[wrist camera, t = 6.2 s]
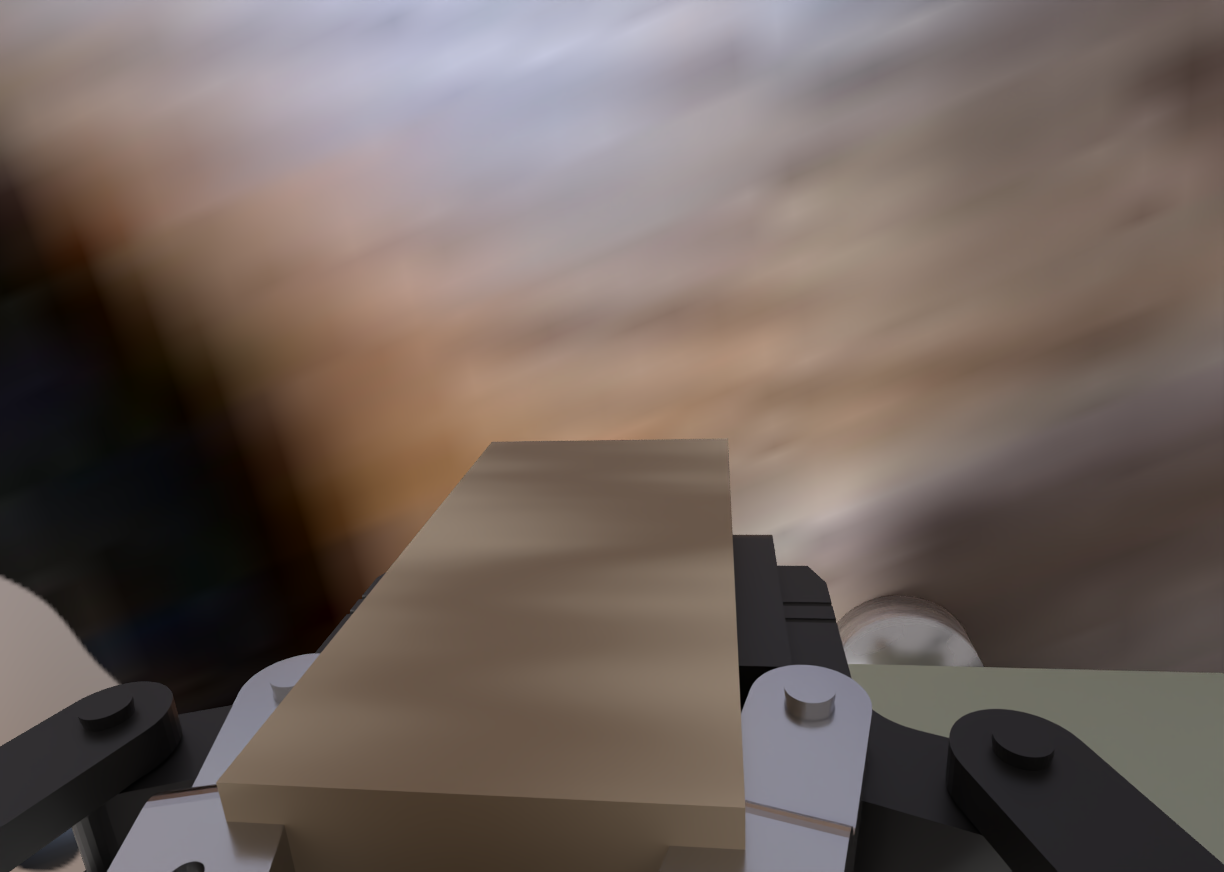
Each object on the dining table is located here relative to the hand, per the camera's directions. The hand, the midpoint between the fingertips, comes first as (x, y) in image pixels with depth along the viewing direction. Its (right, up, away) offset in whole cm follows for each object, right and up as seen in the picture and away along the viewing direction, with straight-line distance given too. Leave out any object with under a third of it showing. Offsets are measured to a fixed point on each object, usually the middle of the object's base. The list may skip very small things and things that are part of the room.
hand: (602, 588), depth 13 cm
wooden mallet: (0, -4, +3) cm, 5 cm away
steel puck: (+10, -5, +16) cm, 19 cm away
